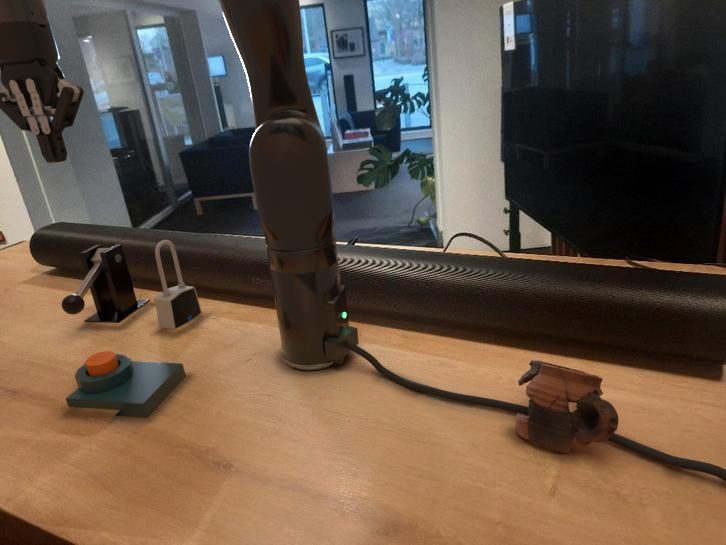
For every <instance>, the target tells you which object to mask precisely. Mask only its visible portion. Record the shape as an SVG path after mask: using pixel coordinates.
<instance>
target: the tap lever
mask: <svg viewBox="0 0 726 545" xmlns="http://www.w3.org/2000/svg"><path fill="white" fill-rule="evenodd" d="M109 248H110V247H103V248H98V249H97V251H96V252H95V254H94V255H93V257H92V258H91V261H92V262H93V263H94V265H93V267H92V268H91V270H90V271H89V273H88V274H87V276H86V275H85V278H83V281H82V282H81V283H80V285H79V287H78V288H77V289H76V291H75V292H74V294H68V295H66V296H65V297H64V298H62V301H61V309H62V310H63V312H64V313H66V314H67V315H77V314H78V315H79V314H80V313H81V312H82V311H83V310H84V308H85V305H86V303H85V300H84V297H85V296H86V294H87V293H88V291H89V290H90V287H91V285H92V284H93V282H94V281H95V279H96V278H97V276H98V275H99V273H100V271H101V270H102V269H104V266H103V263H102V259H101V256H100V253H101V252H103V251H105V250H107V249H109Z"/></svg>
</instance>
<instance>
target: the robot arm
mask: <svg viewBox="0 0 726 545" xmlns="http://www.w3.org/2000/svg"><path fill="white" fill-rule="evenodd" d="M217 1H218V4H219V7H220V10H221V12H222V16H223V17H224V21H225V23H226V26H227V29H228V31H229V34H230V37H231V39H232V41H233V43H234V46H235V48H236V51H237V54H238V55H239V58H240V61H241V63H242V66H243V69H244V72H245V74H246V79H247V83H248V87H249V88H248V89H249V92H250V98H251V103H252V111H253V116H254V117H253V118H254V125H255V132H254V133H253V135H252V138H251V140H250V143H249V148H248V158H249V159H248V160H249V168H250V176H251V181H252V187H253V192H254V198H255V204H256V209H257V215H258V221H259V224H260V227H261V229H262V231H263V235H264V238H265V239H264V240H265V246H266V252H267V258H268V266H269V273H270V279H271V285H272V292H273V298H274V305H275V311H276V312H275V313H276V317H277V324H278V332H279V336H280V343H281V344H280V345H281V355H282V360H283V362H284V364H286V365H287V366H289V367H290V368H292V369H296V370H300V371H316V370H322V369H326V368H329V367H332V366H342V365H343V362H344V360H345V358H346V356H347V354H348V352H350V351H351V352H353V353H355V354H356V355H359V356H360V357H362V358H363V359H365V360H366V361H367V362H368V363H370V365H372V366H373V368H374V369H375V370H376V371H377V372H379V373H380V374H381V375H382V376H383V377H385V378H387V379H389V380H390V381H392V382H394V383H396V384H398V385H401V386H403V387H405V388H407V389H411V390H414V391H417V392H420V393H424V394H426V395H431V396H434V397H437V398H441V399H445V400H448V401H453V402H459V403H465V404H470V405H477V406H482V407H488V408H494V409H499V410H502V411H508V412H510V413H511V412H512V413H515V414H519V413H520V414H522V415H525V416H529V406H526V405H521V404H517V403H513V402H508V401H504V400H499V399H494V398H489V397H484V396H476V395H469V394H464V393H458V392H453V391H449V390H445V389H440V388H437V387H434V386H430V385H426V384H422V383H419V382H416V381H412V380H409V379H407V378H405V377H402V376H401V375H398V374H396V373H394V372H393V371H391V370H390V369H388V368H386V367H385V366H384V365H383V364H382V363H381V362H380V361H378V359H377V358H376V357H375V356H374V355H372V354H371V353H369V352H368V351H367V350H366V349H364V348H362V347H360V346H359V342H360V341H359V332H358V327H355V326H351V325H350V323H349V312H348V301H347V291H346V286H345V285H344V284H341V274H340V266H339V256H338V246H337V234H336V222H335V212H334V206H333V195H332V185H331V184H332V183H331V176H330V175H331V174H330V162H329V155H328V154H329V153H328V145H327V140H326V136H325V133H324V131H323V128H322V126H321V123H320V119H319V116H318V113H317V109H316V106H315V103H314V98H313V94H312V91H311V86H310V83H309V80H308V75H307V70H306V63H305V56H304V40H303V24H302V13H301V5H300V0H217ZM60 58H61V57H60V54H59V50H58V47H57V42H56V39H55V35H54V32H53V29H52V24H51V21H50V17H49V14H48V10H47V6H46V3H45V0H0V83H1V88H0V110H1V111H2V112H3V113H4V114H5V115H6V116H7V117H8V118H9V119H10V120H11V121H12V122H13V123H14V124H15V125H16V126H17V128H18V129H19V130H21V131H23V132H24V131H28V132H30V133H32V134H33V135H35V137H36V140H37V143H38V146H39V149H40V153H41V156H42V157H43V159H44V160H45V162H46V163H48V164H52V163H54V164H55V163H61V162H66V160H67V159H68V158H67V157H68V150H67V147H66V143H65V140H64V136H63V132H64V130H66V129H67V128H70V127H71V128H72V127H73V126H74V123H75V120H76V117H77V114H78V111H79V108H80V106H81V103H82V100H83V97H84V94H85V90H84V89H83V87H81V86H79V85H77V86H76V85H73V84H72V83H71V82H69V81H67V80H66V79H65V74H64V72H63V71H62V70H61V68H60V66H59V65H58V61H59V60H60ZM606 441H609V442H610V443H613V444H616V445H618V446H621V447H622V448H625V449H627V450H631V451H632V452H635V453H637V454H640V455H642V456H644V457H647V458H649V459H652V460H655V461H658V462H660V463H662V464H665V465H668V466H671V467H674V468H679V469H683V470H687V471H694V472H699V473H704V474H707V475H710V476H714V477H717V478H719V479H720V480H722V481H724V482H726V468H723V467H721V466H719V465H716V464H713V463H709V462H706V461H700V460H695V459H690V458H684V457H679V456H675V455H673V454H669V453H666V452H663V451H660V450H657V449H655V448H653V447H650V446H647V445H644V444H642V443H639V442H638V441H634V440H632V439H630V438H628V437H626V436H622V435H620V434H617V433H616V432H614V433H613V435H612V436H611V437H610V438H609V439H607V440H606Z"/></svg>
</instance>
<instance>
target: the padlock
mask: <svg viewBox="0 0 726 545" xmlns="http://www.w3.org/2000/svg"><path fill="white" fill-rule="evenodd" d="M164 245H167V246H168V247H169V249H170V252H171V256H172V260H173V264H174V268H175V272H176V276H177V281H178V283H177V285H175V286H172V287H169V288H168V284H167V280H166V276H165V271H164V267H163V263H162V258H161V248H162V247H163V246H164ZM154 255H155V261H156V265H157V270H158V274H159V278H160V279H159V280H160V282H161V283H160V284H161V287H162V292H161V293H159V294H158V295H157V296H156V297H154V304H155V309H156V315H157V316H156V317H157V321H158V326H159V327H158V328H164V329H169V330H176V329H178V328H179V327H182V326H183V325H185V324H188V323H189V322H191V321H192V320H194V319H195V318H196V317H197V316H199V315H200V314H202V313H203V310H202V307H201V304H200V300H199V296H198V293H197V290H196V287H195V286H190V285H186V284H185V282H184V280H183V276H182V272H181V266H180V262H179V258H178V254H177V251H176V247H175V245H174V243H173V241H171V240H169V239H162V240H160V241H159V242H158V243H157V244H156V245H155V249H154Z"/></svg>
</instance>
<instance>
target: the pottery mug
mask: <svg viewBox="0 0 726 545" xmlns="http://www.w3.org/2000/svg"><path fill="white" fill-rule="evenodd" d="M528 364H529V366H530V368H529V370H527V371H526V372H524V373H523V374H522V375H521V376H520V378H519V379H518V380H517V384H518V386H521V387H522V386H523V385H524V384H527V383H528V384H527V385H526V386H525V394H526V396H527V397H528V398H529V399H528V407H529V416H528V415H524V414H520V413H516V416H515V427H516V432H515V433H516V435H518V436H519V437H521V438H522V439H524V440H527V441H529V442H531V443H533V444H536V445H537V446H539V447H542V448H545V449H548V450H551V451H553V452H554V451H555V452H558V453H563V454H568V453H570V449H571V446H572V444H573V443H574V442H573V441H574V440H575V439H576V441H577V442H578V443H579V444H580V445H581V446H584V447H586V446H588V445H590V444H591V443H592V444H593V443H604V442H605V441H608V440H607V439H609V438H610V437H611V436H612V435H613V433H616V431H617V430H618V427H619V415H618V411H617V410H616V408H615V407H614V405H613V404H612V403H610V402H609V401H608V400H606V399H603V398H601V396H602V395H604V392H603V390H602V388H601V385H602V382H603V377H601V376H598V375H596V374H590V373H587V372H585V371H582V370H579V369H574V368H571V367H567V366H562V365H559V364H554V363H550V362H545V361H541V360H535V359H534V360H533V359H531V360H530V362H529V363H528ZM569 403H571V404H575V406H576V409H575V410H573V411H570V410H571V409H570V405H569Z"/></svg>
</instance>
